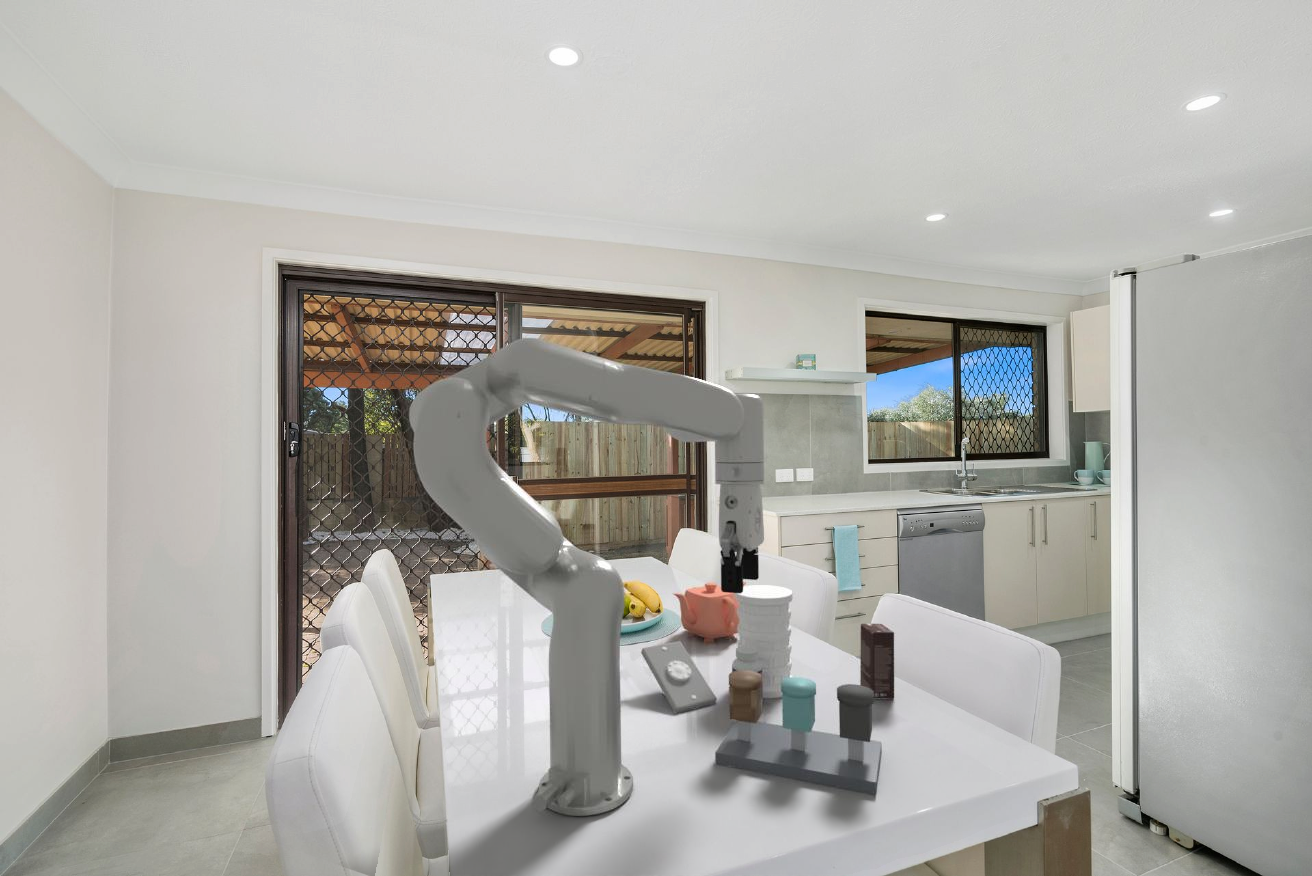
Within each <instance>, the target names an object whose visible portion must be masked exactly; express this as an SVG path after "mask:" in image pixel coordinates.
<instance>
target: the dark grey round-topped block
mask: <svg viewBox="0 0 1312 876" xmlns="http://www.w3.org/2000/svg"><path fill="white" fill-rule="evenodd" d="M836 698H837V699H836V700H837V701H839V703H838V712H839V713H838V715H839V716H838V717H839V719H838V720H839V723H838V724H839V735H840V737H841V738H847V739H853V740H859V741H865V742H870V740H871V737H872V731H873V717H872V716H873V715H872V714H873V713H872V712H873V710H872V705H873V704H874V703H875V699H874V692H873V690H871V689H870V688H868V687H865V686H861V685H860V684H852V683H851V684H847V683H846V684H841V685H839V686H838V687H837V688H836Z"/></svg>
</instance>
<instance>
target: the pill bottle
mask: <svg viewBox="0 0 1312 876" xmlns="http://www.w3.org/2000/svg"><path fill="white" fill-rule="evenodd" d="M758 657H759V653H758V649H757V648H755V647H751V646H741V647H738V646H737V647H736V648H735V659H734V660H733V661H732V665H731V668H732V669H731V673H732V672H734V671H739V670H748V671H754V672H757V673H759V674H761V676H762V675H763V674H762V669H763V668H762V663H761V662H760V661H759V660H758ZM763 699H764V698H763V677H762V703H763Z"/></svg>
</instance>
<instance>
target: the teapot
mask: <svg viewBox="0 0 1312 876" xmlns="http://www.w3.org/2000/svg"><path fill="white" fill-rule="evenodd" d="M746 584H747V582H746V581H743V586H746ZM717 585H718V584H717V583H715V582H707V583H705V584H704V586H698V587H695V586H694V587H692V588H687V589H686V590H685V591H684V594H683V593H679V592H677V593H674V592H673V593H672V594H673V595H674V596H676V597H677V599H678V601H679V606H680V621H681V625H682V627H683V629H684V630H685V631H687V632H689V634H688V637H690V638H691V637H692V638H697V637H702V638H703V643H704V644H710V645H711V644H714V643H715V639H718V638H722V637H723V638H725V639H727V640H731V639H732V640H733V639H735V638H736V636H735V634H738V631H737V627H738V624H739V618H738V615H737V609H738V607H739V601H738V600H736V599H735V593H728V592H722V590H721V586H717Z"/></svg>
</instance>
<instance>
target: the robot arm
mask: <svg viewBox="0 0 1312 876" xmlns="http://www.w3.org/2000/svg"><path fill="white" fill-rule="evenodd" d="M529 404H530V405H534V406H539V407H543V408H546V409H550V410H554V411H558V412H563V413H567V414H570V415H576V416H579V417H583V418H586V419H590V420H594V421H597V422H601V423H607V424H614V425H623V426H624V425H626V426H629V425H631V426H633V425H634V426H635V425H637V426H638V425H639V426H640V425H642V426H643V425H644V426H653V427H662V428H664V430H665V431H666V433H668V435H669V436H670V437H672V438H673V439H675V440H677V441H680V442H685V443H701V442H703V443H704V442H705V443H706V442H714V462H715V463H714V467H715V469H714V471H715V472H714V473H715V475H714V476H715V483H714V484H716V485H720V488H719V500H718V502H719V503H718V505H719V506H718V543H719V547H720V548H721V550H720V556H721V557H720V587H721V590H722V592H728V593H742V592H743V582H744V580H750V581H751V580H752V581H753V580H754V581H758V579H759V578H760V577H759V573H760V572H759V571H760V570H759V569H760V568H759V561H760V560H759V546H761V545H762V544H763V543H764V540H765V529H764V510H763V496H762V489H761V485H763V484H765V443H764V442H765V435H764V434H765V431H764V427H765V425H764V424H765V423H764V422H765V421H764V418H765V417H764V402H763V400H762V398H761V397H760V396H759V395H757V394H751V393H735V392H733V391H731V390H730V389H729V388H726V387H724V386H721V385H718V384H714V383H712V382H708V381H705V380H702V379H699V378H695V377H692V376H689V375H684V374H680V373H673V372H670V371H664V370H657V369H653V368H648V367H643V366H640V365H639V366H638V365H632V364H625V363H622V362H617V361H614V360H611V359H606V358H605V357H600V356H598V355H594V354H591V353H589V352H584V351H580V350H577V349H574V348H572V347H567V346H565V345H561V344H558V343H554V342H552V341H548V340H544V339H541V338H535V337H524V338H519V339H516V340H514V341H512V342H511V343H508V344H507V345H505V346H503V347H501V348H499V349H498V350H497V351H495V352H492V353H491V354H489V355H488V356H486V357H485V358H483V359H482V360H480V361H477V362H475V363H474V364H471V365H470V366H468V367H466V368H464V369H461V370H460V371H458V372H456V373H454V374H452V375H450V376H447V377H446V378H441V379H439V380H436V381H435V382H433V383H431V384H430V385H428V386H426V388H423V389H422V390H421V391H420V392H419V393H417V394H416V396H415V397H414V399H413V400H412V403H411V404H410V407H409V413H408V414H409V415H408V419H409V424H410V427H411V429H412V431H413V433H414V435H413V456H414V463H415V468H416V471H417V474H418V477H419V480H420V482H421V483H422V486H423V488H424V490H425V491H426V492H427V494H428V495H429V497H430V498H431V499H432V500H433V501H434V502H435V504H436V505H437V506H438V507H440V508H441V509H442V510H443V512H445V513H446V514H447V516H448V517H450V518H451V519H452V520H453V521H454V522H455V523H456V524H457V525H458V526H459V527H460V528H462V530H464V532H466V533H467V534H468V535H469V536H470V537H471V538H472V539H473V540H475V542H476V545H477V548H478V549H479V551H480V552H481V554H482V555H483V556H484V557H485V558H486V559H487V560H488V561H489V562H490V563H491V564H493V565H494V567H496V568H497V569H498V570H499V571H501V572H502V573H503V574H504V575H505V576H507V578H509V579H510V580H512V581H513V583H515V584H516V585H517V586H518V587H520V589H522V590H523V591H524V592H526V594H528V595H529V596H530V597H531V598H532V599H533V600H535V601H536V602H537V603H538V604H540V605H541V606H542V607H544V608H546V609H547V610H548V611H549V612H550V613H551V614H552V629H551V633H550V640H549V647H548V680H549V681H548V683H549V684H548V687H549V689H548V690H549V697H548V698H549V750H550V751H549V754H550V755H549V756H550V758H549V761H550V762H549V764H550V768H549V769H548V770H547V772H546V773H544V775H543V776H542V777H541V778H540V780H539V783H538V793H536V795H535V796H534V797H533V800H532V803H533V806H534V808H535V809H536V810H537V811H538V812H542V811H545V810H546V809H547V808H548V809H549V810H551V811H552V812H555V813H558V814H562V815H565V816H571V817H574V816H575V817H578V816H579V817H583V816H584V817H585V816H593V815H594V816H595V815H598V814H604V813H606V812H609V811H612V810H613V809H615V808H618V807H620V805H622V804H623V803H624V802H625V801H626V802H627V801H628V799H629V797H631V795H632V793H633V791H634V790H633V789H634V777H633V775H632V772H631V771H630V770H629V768H627V766H625V765H624V764H622V717H621V716H622V715H621V712H622V711H621V710H622V709H621V708H622V707H621V704H622V702H621V701H622V700H621V666H620V665H621V662H620V661H621V656H620V655H621V654H620V652H621V649H620V648H621V647H620V646H621V633H622V632H621V630H622V623H623V617H624V610H625V602H626V598H625V597H626V593H625V592H626V591H625V585H624V583H623V579H622V577H621V575H620V573H619V572H618V570H617V569H616V567H614V566H613V564H612V563H610V562H609V561H608V560H606V559H604V557H600V556H599V555H596V554H593V553H592V552H589V551H586V550H582V549H579V548H578V547H577V546H575V545H574V544H573V543H572V542H570V541H569V540H568V539H567V538H566V537H564V535H563V532H562V527H561V526H560V524H559V522H558V520H557V518H555V516H554V515H553V514H552V513H551V512H550V511H549V510H548V509H547V508H545V507H544V506H543V505H541V504H540V503H539V502H538V501H536V499H534V498H533V497H532V496H531V495H530V494H529V493H527V492H526V490H524V489H523V488H522V487H521V486H520V485H519V484H518V483H516V482H515V480H513V479H512V478H511V477H510V476H509V474H507V473H506V471H504V470H503V469H502V467H501V466H499V464H498V463H497V462H496V461H495V460H494V458H493V457H492V454H491V452H490V450H489V447H488V441H487V432H488V428H489V426H491V425H492V424H494V423H496V422H498V421H499V420H501V419H503V418H505V417H506V416H508V415H510V414H511V413H513V412H515V411H517V410H518V409H519V408H521V407H523V406H524V405H529Z"/></svg>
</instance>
